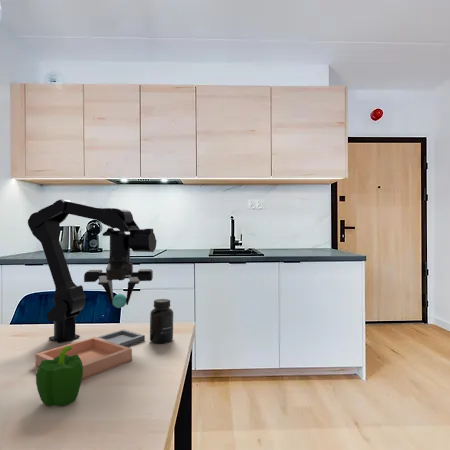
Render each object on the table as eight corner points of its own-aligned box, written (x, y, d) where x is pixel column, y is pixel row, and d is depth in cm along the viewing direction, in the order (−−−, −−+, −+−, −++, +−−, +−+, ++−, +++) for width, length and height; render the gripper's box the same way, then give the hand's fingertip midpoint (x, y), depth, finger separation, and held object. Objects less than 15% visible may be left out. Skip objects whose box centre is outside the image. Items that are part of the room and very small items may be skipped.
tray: (94, 343, 99) (94, 337, 99) (123, 334, 107) (123, 329, 107) (116, 350, 93) (116, 344, 93) (144, 340, 101) (144, 335, 101)
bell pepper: (52, 417, 60) (53, 361, 60) (27, 404, 64) (28, 352, 65) (93, 397, 67) (93, 347, 67) (68, 387, 72) (68, 339, 72)
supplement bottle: (168, 345, 97) (168, 303, 97) (145, 343, 98) (146, 302, 98) (176, 337, 104) (176, 298, 104) (155, 336, 105) (155, 297, 105)
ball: (109, 308, 99) (109, 294, 99) (121, 305, 102) (121, 292, 102) (117, 310, 97) (118, 295, 97) (129, 307, 100) (129, 293, 100)
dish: (35, 366, 82) (35, 353, 82) (94, 347, 95) (94, 336, 95) (71, 384, 73) (71, 370, 73) (131, 360, 86) (131, 348, 86)
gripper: (78, 254, 90) (78, 312, 90) (150, 253, 93) (150, 310, 93) (89, 251, 101) (88, 303, 101) (153, 250, 104) (152, 301, 104)
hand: (119, 304), depth 99 cm, fingers closed on ball, 4 cm apart
